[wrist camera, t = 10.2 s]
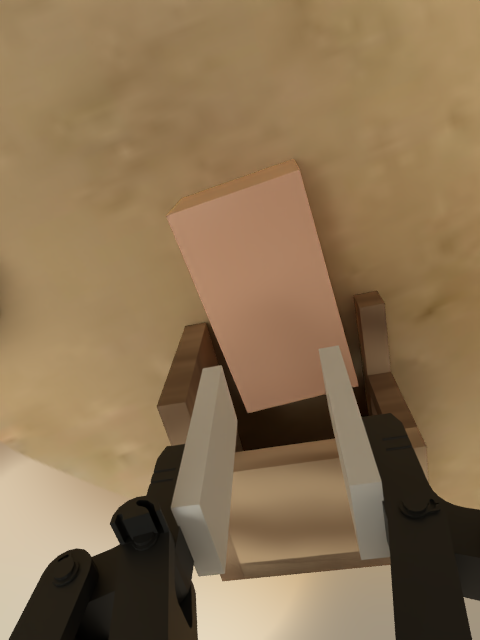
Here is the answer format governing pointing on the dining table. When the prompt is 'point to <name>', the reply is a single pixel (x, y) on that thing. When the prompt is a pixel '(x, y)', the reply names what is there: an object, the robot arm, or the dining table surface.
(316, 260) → the pink rectangular block
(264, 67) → the dining table surface
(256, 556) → the dock
